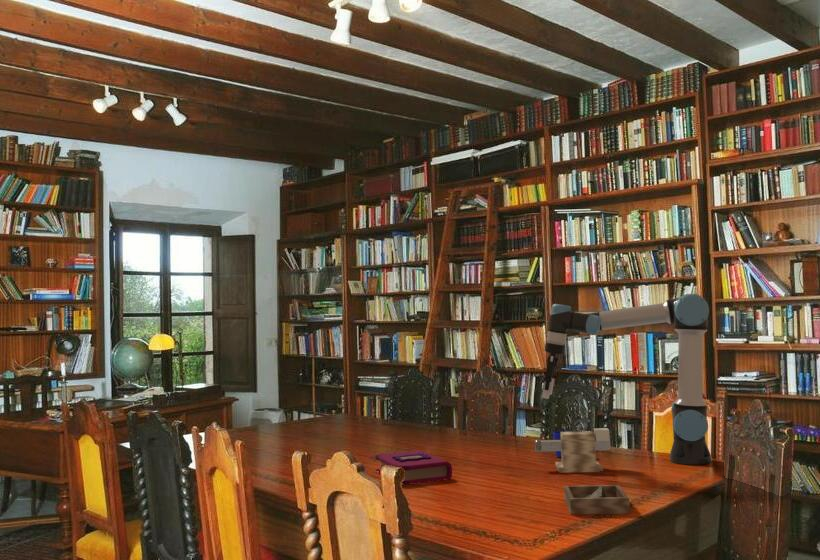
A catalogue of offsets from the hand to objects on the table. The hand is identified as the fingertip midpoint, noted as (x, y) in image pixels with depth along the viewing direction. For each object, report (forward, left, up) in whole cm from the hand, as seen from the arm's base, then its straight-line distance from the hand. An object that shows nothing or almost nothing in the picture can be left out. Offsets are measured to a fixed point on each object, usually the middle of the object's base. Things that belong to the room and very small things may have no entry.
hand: (546, 396), depth 293 cm
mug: (-9, -16, -27) cm, 33 cm away
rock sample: (-7, +65, -27) cm, 71 cm away
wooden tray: (-8, +65, -27) cm, 71 cm away
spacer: (-19, +8, -16) cm, 26 cm away
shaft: (-8, +8, -20) cm, 23 cm away
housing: (-10, +8, -27) cm, 30 cm away
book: (+53, +15, -27) cm, 62 cm away
